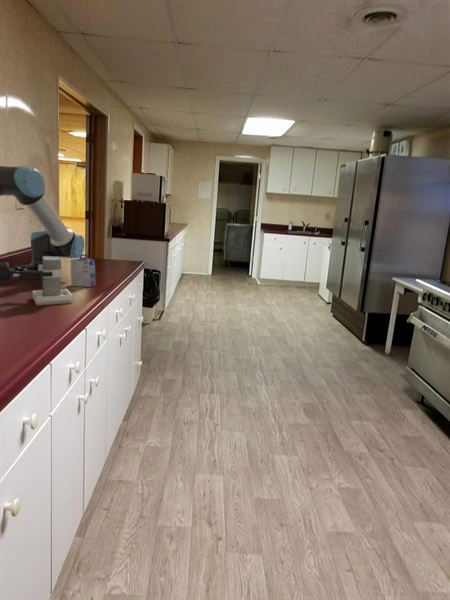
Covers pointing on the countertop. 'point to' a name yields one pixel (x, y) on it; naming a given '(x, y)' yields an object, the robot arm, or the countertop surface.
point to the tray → (52, 298)
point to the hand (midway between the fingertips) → (58, 270)
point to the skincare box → (54, 283)
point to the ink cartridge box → (83, 272)
